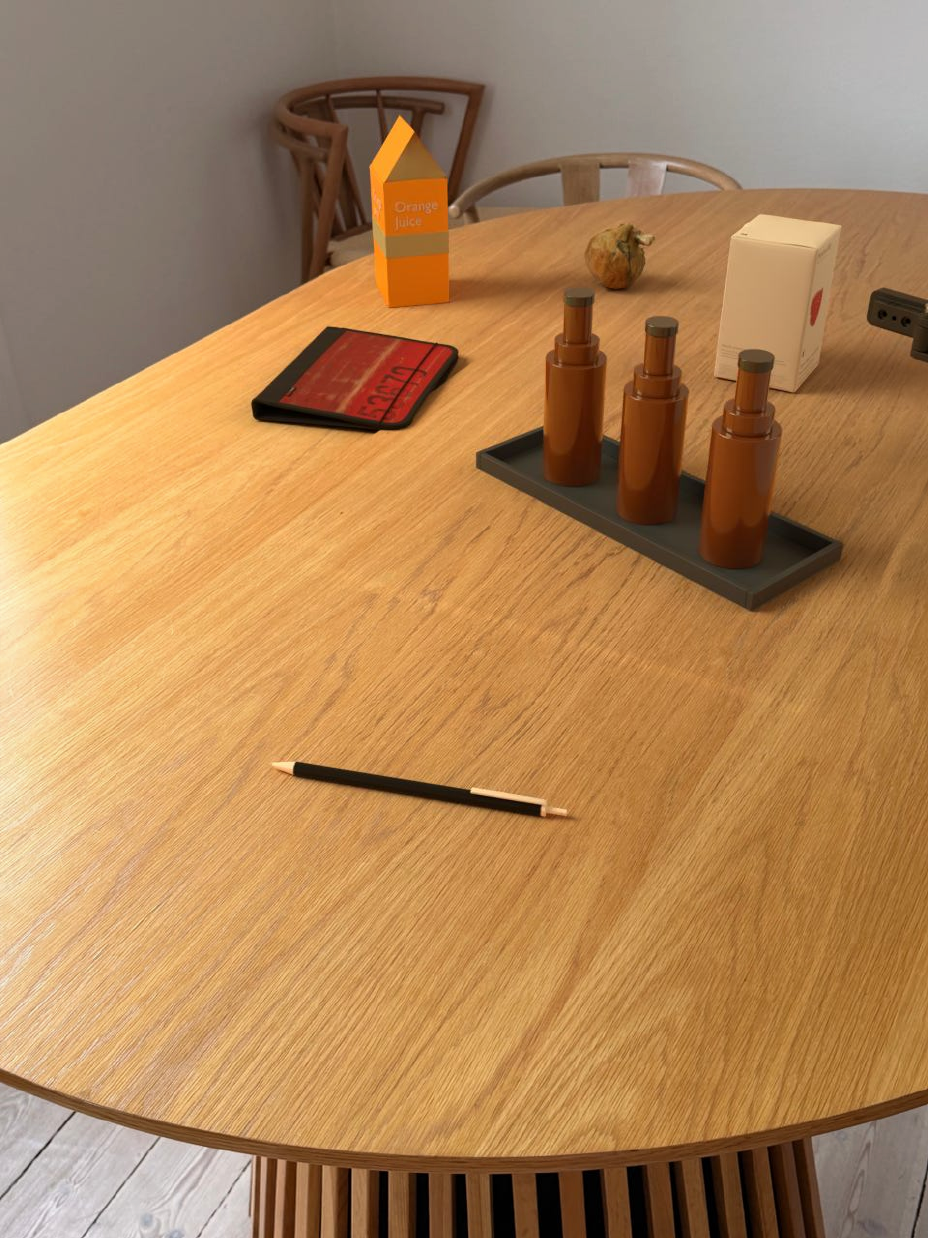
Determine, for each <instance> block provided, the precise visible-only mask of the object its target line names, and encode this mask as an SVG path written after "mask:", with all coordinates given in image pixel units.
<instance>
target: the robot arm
mask: <svg viewBox="0 0 928 1238" xmlns="http://www.w3.org/2000/svg"><path fill="white" fill-rule="evenodd" d="M866 320H867V322H868V324H869V325H870V326H873V327H876V328H879V329H883V330H886V331H889V332H892V333H896V334H897V335H901V336H905V337H908V338H911V339H912V343H911V348H910V353H909V357H910V358H912V359H913V360H917V361H920V362H923V363H927V364H928V299H927V298H922V297H919V296H915V295H912V294H909V293H905V292H901V291H899V290H898V291H897V290H895V289H892V288H888V287H880V288H878V289H875V290H873V291H872V292H871V294H870V297H869V302H868V307H867V313H866Z"/></svg>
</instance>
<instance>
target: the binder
mask: <svg viewBox="0 0 928 1238" xmlns="http://www.w3.org/2000/svg"><path fill="white" fill-rule="evenodd" d="M459 358H460V356H459V349H458V348H457V347H455V346H453V345H450V344H445V343H438V342H432V341H425V340H419V339H415V338H414V339H413V338H408V337H403V336H398V335H392V334H386V333H378V332H374V331H366V330H361V329H360V330H359V329H353V328H349V327H339V326H330V325H329V326H326V327H324V329H323V330H322V331H321V332H320V333H319V334H318V335H316V337H315V338H314V339H313V340H312V341H311V342H310V343H309V344H307V346H306V347H305V348H303V350H301V352H300V353H299V354H298V355H296V357H295V358H294V359H292V361H291V362H290V363H288V365H286V367H285V368H284V369H283V370H282V371H281V372H279V374H278V375H277V376H276V377H275V378H274V379H272V381H271V382H269V384H267V386H265V388H264V389H263V390H262V391H260V393H258V394H257V395H256V396H255V397H254V398H253V399H252V400H251V401H250V406H251V412H252V416H253V419H255V420H256V421H266V422H267V421H268V422H287V423H288V422H289V423H300V424H311V425H320V426H321V425H322V426H333V427H346V428H356V429H357V428H358V429H365V430H372V431H381V430H382V431H399V430H404V429H406V428H408V427H409V426H411V424H412V423H413V420H414V418H415V416H416V414H417V412H418V411H419V409H420V408H421V407H422V405H423V404H424V403H425V401H426V400H427V398H428V397H429V395H430V394H432V393H433V392H435V390H437V389H438V388H440V387H441V386H442V385H444V384H445V382H446V381H447V380H448V379H449V376H450V374H451V373H452V371H453V370H454V368H455V367H456V365H457V363H458V361H459Z"/></svg>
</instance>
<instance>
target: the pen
mask: <svg viewBox="0 0 928 1238" xmlns="http://www.w3.org/2000/svg"><path fill="white" fill-rule="evenodd" d="M269 766H271V767H272V768H275V769H277V770H279V771H282V772H285V773H287V774H290V775H293V776H295V777H296V776H297V777H302V778H308V779H315V780H319V781H320V780H321V781H326V782H333V783H338V784H344V785H350V786H356V787H363V788H368V789H374V790H375V789H376V790H382V791H387V792H392V793H398V794H405V795H410V796H411V795H412V796H417V797H422V798H429V799H435V800H441V801H448V802H454V803H458V804H465V805H471V806H478V807H483V808H490V809H496V810H501V811H508V812H513V813H514V812H515V813H521V814H526V815H533V816H537V817H538V816H539V817H544V818H545V817H546V816H547V814H551V815H557V816H563V817H567V816H568V809H565V808H559V807H558V808H557V807H552V806H549V805H548V800H547V799H545V798H540V797H534V796H528V795H522V794H517V793H510V792H504V791H498V790H492V789H484V788H480V787H471V788H470V789H468V788H462V787H457V786H456V787H455V786H450V785H443V784H437V783H432V782H431V783H430V782H425V781H420V780H414V779H413V780H412V779H406V778H401V777H393V776H388V775H382V774H376V773H369V772H365V771H358V770H351V769H345V768H339V767H333V766H326V765H322V764H321V765H320V764H315V763H309V762H302V761H280V762H278V761H277V762H270V763H269Z"/></svg>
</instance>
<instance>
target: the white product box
mask: <svg viewBox="0 0 928 1238" xmlns="http://www.w3.org/2000/svg"><path fill="white" fill-rule="evenodd" d="M841 231H842V225H841V224H835V223H829V222H822V221H813V220H805V219H798V218H791V217H787V216H786V217H785V216H778V215H771V214H764V213H763V214H762V213H759V214H758V215H757V216H755V217H754V218H753V219H752V220H751V221H749V222H747V223H745V224H744V225H743V226H742V228H740V229H738V230H737V231H736V232H735V233H734V234H732V235H731V236H730V244H729V251H728V259H727V267H726V275H725V284H724V291H723V299H722V306H721V307H722V308H721V314H720V315H721V316H720V323H719V331H718V337H717V338H718V339H717V347H716V356H715V363H714V370H713V371H714V372H713V377H714V378H715V377H716V378H720V379H725V380H730V381H735V382H736V381H737V373H738V366H737V361H738V354H739V353H740V352H741V351H744V350H748V349H759V350H765V351H768V352H770V353H772V354H773V355H774V356H775V361H774V367H773V369H772V372H771V379H770V386H769V389H775V390H780V391H784V392H788V393H796V391H797V390H798V389H799V388H800V387H801V386H802V385H803V383H804V382H805V381H806V380H807V379H808V378H809V376H810V375H811V374H813V372H814V371H815V369H816V368H817V367H818V365H819V362H820V358H821V357H820V356H821V350H822V345H823V340H824V333H825V327H826V322H827V316H828V311H829V305H830V299H831V297H830V296H831V291H832V286H833V279H834V274H835V268H836V262H837V255H838V249H839V242H840V238H841Z"/></svg>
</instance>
